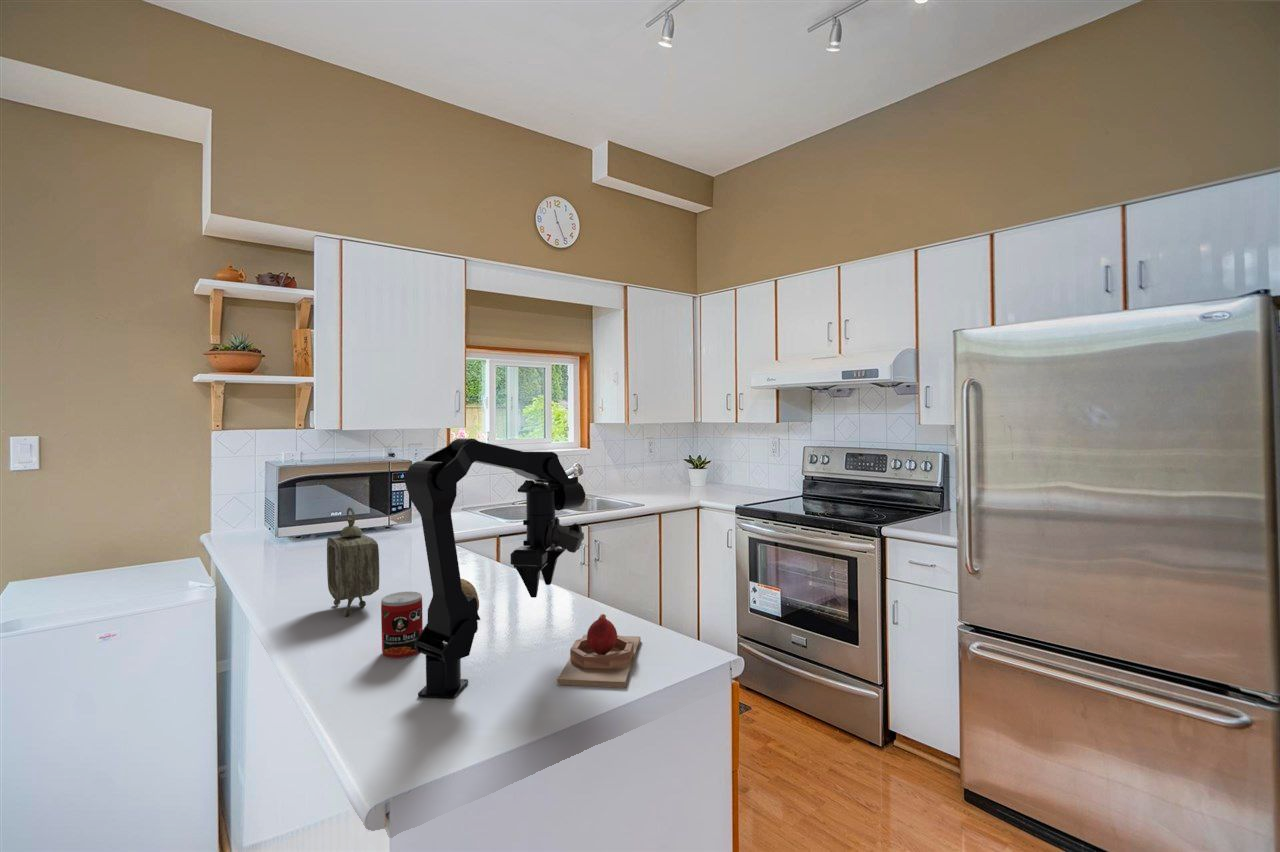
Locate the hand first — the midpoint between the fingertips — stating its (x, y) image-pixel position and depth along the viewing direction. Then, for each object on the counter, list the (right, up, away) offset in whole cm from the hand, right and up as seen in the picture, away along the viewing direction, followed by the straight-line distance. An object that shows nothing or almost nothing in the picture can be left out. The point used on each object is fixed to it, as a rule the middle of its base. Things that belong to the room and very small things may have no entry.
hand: (541, 590), depth 124 cm
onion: (+13, -11, -6) cm, 18 cm away
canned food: (-28, -12, 0) cm, 30 cm away
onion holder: (+13, -12, -6) cm, 18 cm away
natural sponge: (-22, -12, +17) cm, 30 cm away
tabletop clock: (-51, -12, +28) cm, 59 cm away
